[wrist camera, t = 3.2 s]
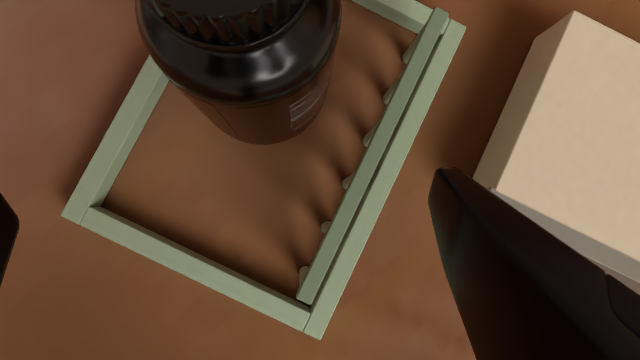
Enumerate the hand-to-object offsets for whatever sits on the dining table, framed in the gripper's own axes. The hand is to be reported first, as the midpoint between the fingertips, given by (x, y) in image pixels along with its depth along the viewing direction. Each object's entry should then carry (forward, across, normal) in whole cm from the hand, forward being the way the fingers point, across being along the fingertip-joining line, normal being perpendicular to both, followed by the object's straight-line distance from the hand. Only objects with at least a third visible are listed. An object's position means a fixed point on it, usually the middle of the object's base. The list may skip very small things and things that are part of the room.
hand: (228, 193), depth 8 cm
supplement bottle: (+13, 0, +4) cm, 14 cm away
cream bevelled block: (+9, -20, +9) cm, 24 cm away
